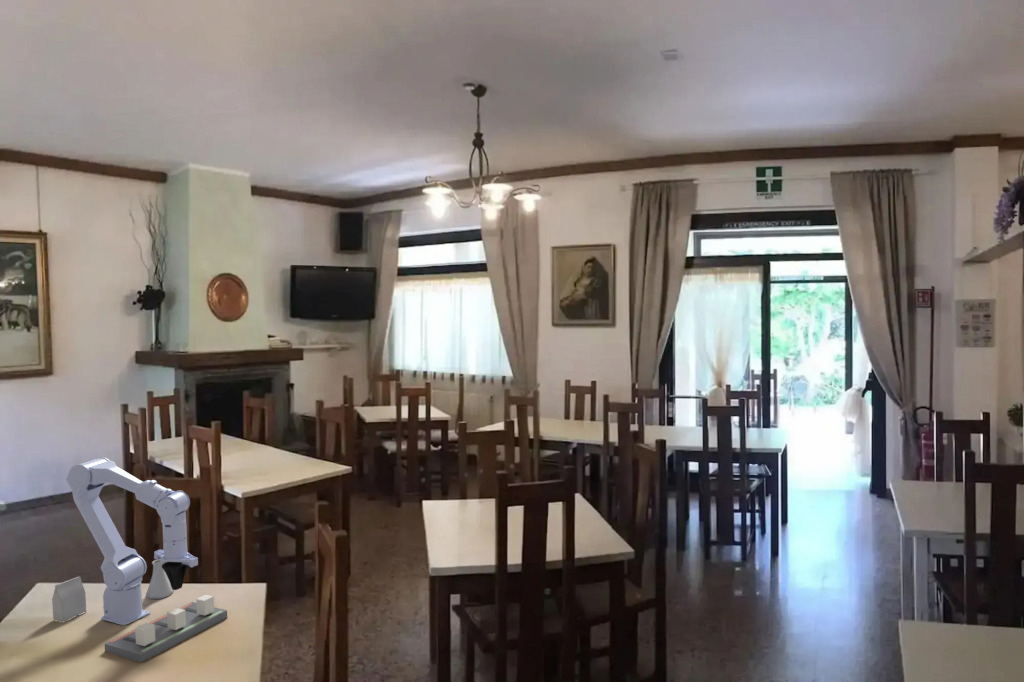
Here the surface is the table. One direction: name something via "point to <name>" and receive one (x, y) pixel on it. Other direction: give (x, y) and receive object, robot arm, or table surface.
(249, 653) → the table surface
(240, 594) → the table surface
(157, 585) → the flask
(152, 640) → the switch
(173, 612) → the switch middle
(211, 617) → the panel
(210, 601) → the switch far
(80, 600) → the grey paper bag
